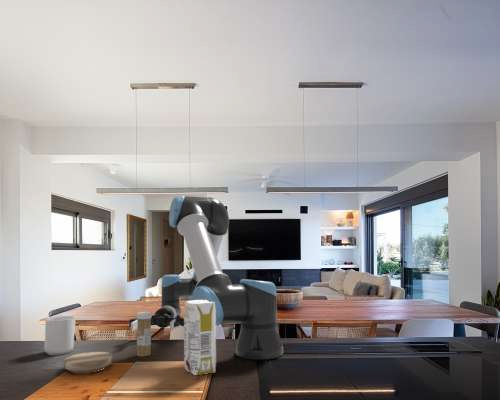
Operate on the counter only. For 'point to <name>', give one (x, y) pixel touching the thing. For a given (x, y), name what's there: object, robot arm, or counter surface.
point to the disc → (87, 362)
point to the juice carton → (200, 336)
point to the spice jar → (143, 333)
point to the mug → (59, 335)
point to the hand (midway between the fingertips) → (151, 326)
